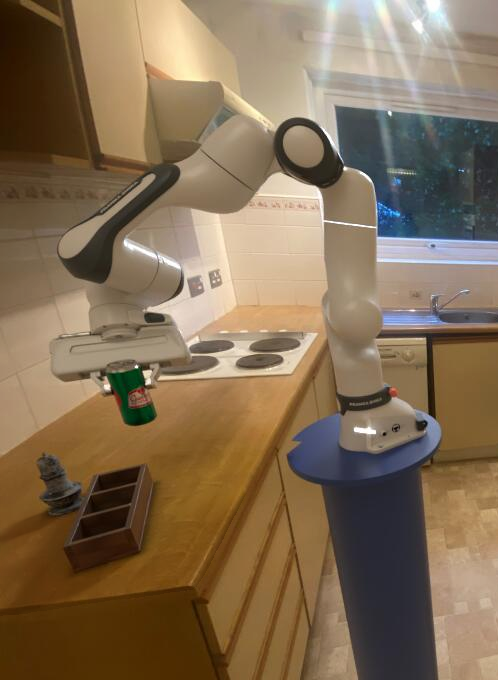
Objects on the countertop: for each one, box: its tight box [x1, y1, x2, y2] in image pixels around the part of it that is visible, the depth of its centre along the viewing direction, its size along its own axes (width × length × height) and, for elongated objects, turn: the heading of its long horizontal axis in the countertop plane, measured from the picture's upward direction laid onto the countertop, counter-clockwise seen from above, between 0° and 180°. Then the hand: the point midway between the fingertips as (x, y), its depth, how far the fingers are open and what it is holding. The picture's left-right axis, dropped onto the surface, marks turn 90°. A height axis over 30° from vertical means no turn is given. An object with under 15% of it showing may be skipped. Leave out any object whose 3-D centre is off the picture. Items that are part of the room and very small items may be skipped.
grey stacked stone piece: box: [35, 451, 84, 516], centre depth 81 cm, size 6×6×12 cm
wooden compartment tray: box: [62, 462, 155, 573], centre depth 78 cm, size 8×23×5 cm, turn 33°
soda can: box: [105, 359, 158, 427], centre depth 82 cm, size 5×5×12 cm
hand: (130, 391), depth 81 cm, fingers closed on soda can, 5 cm apart
